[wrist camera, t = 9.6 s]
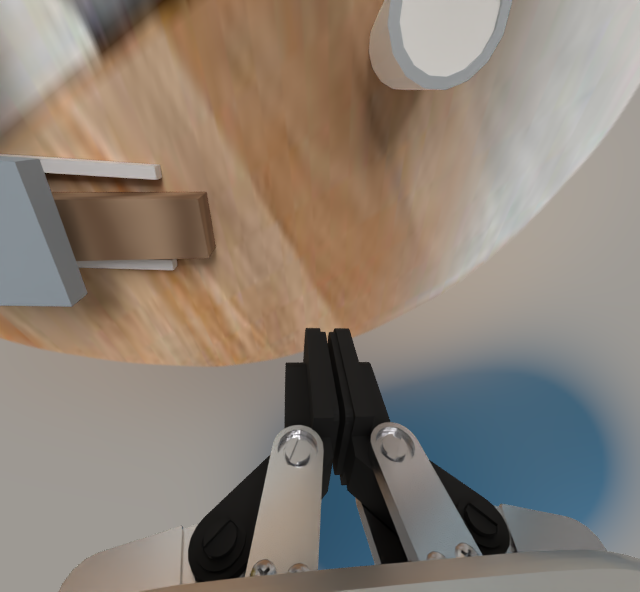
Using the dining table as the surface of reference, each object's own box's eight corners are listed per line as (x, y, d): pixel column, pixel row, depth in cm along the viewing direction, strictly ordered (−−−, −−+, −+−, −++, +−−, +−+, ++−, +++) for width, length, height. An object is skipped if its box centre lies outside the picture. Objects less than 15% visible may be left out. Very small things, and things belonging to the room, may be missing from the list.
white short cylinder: (448, 91, 24) (503, 79, 18) (363, 106, 24) (390, 99, 18) (454, -29, 20) (526, -96, 14) (356, -12, 20) (385, -71, 14)
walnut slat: (206, 191, 26) (197, 199, 23) (215, 246, 28) (208, 258, 26) (-7, 192, 24) (-42, 200, 22) (23, 249, 27) (-5, 262, 24)
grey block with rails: (158, 157, 24) (115, 168, 18) (178, 269, 29) (149, 307, 23) (-52, 143, 22) (-179, 148, 16) (7, 264, 27) (-73, 304, 21)
